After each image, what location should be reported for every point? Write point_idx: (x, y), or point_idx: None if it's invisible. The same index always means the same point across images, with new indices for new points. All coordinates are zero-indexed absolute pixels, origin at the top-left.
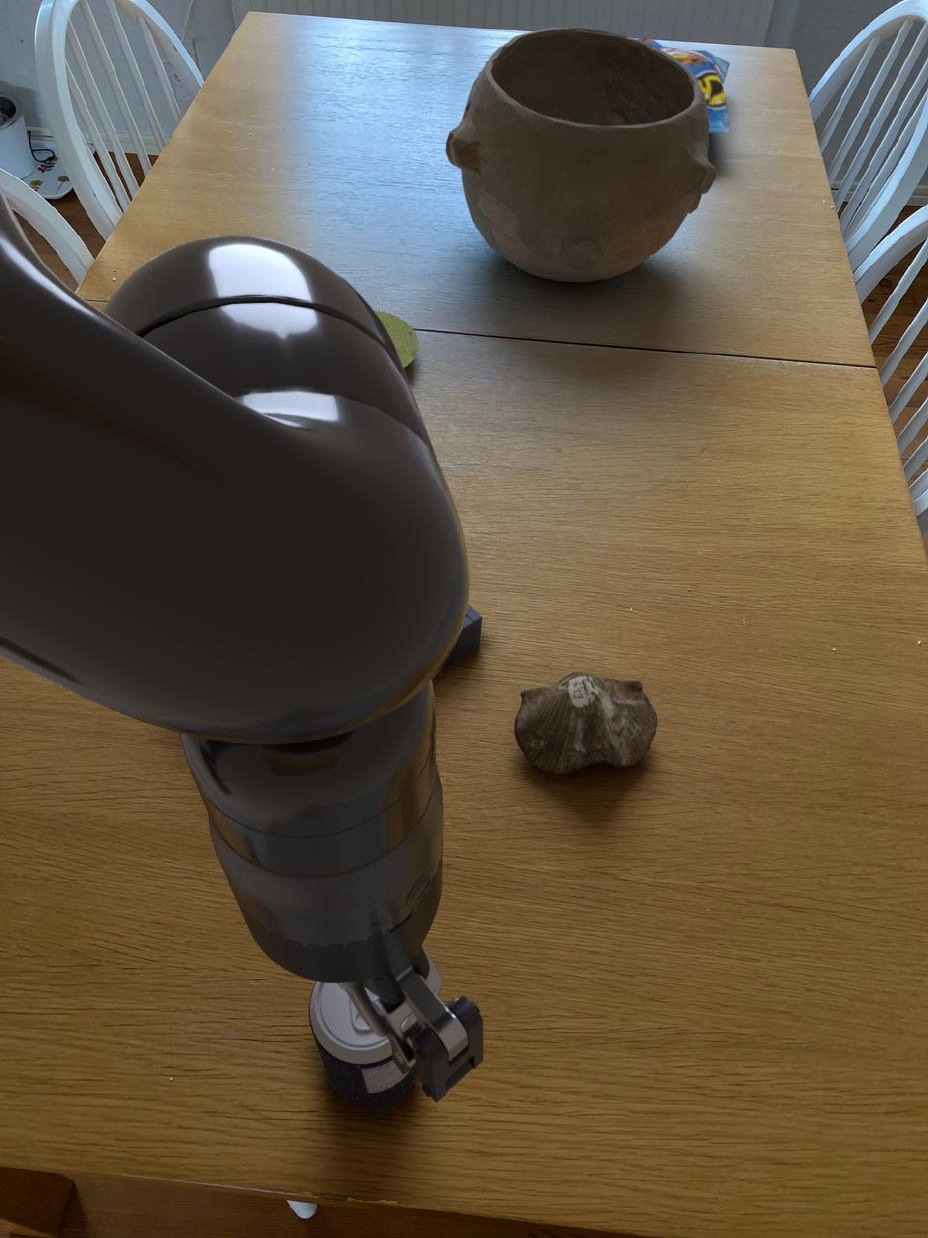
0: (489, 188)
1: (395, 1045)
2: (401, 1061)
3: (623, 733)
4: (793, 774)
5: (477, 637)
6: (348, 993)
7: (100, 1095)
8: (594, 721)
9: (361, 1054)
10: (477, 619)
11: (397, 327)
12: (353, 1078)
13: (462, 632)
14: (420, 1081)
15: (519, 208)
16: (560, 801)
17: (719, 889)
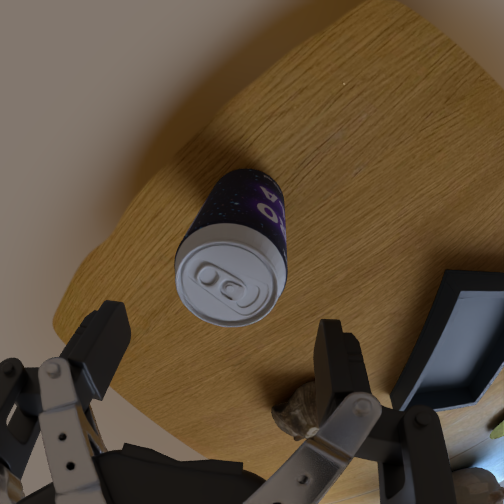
0: (484, 494)
1: (49, 391)
2: (46, 369)
3: (283, 423)
4: (216, 429)
5: (392, 401)
6: (81, 462)
7: (369, 43)
8: (297, 429)
9: (186, 250)
10: None
11: (501, 434)
12: (204, 209)
13: (399, 406)
14: (20, 369)
15: (470, 498)
16: (289, 374)
17: (193, 385)
